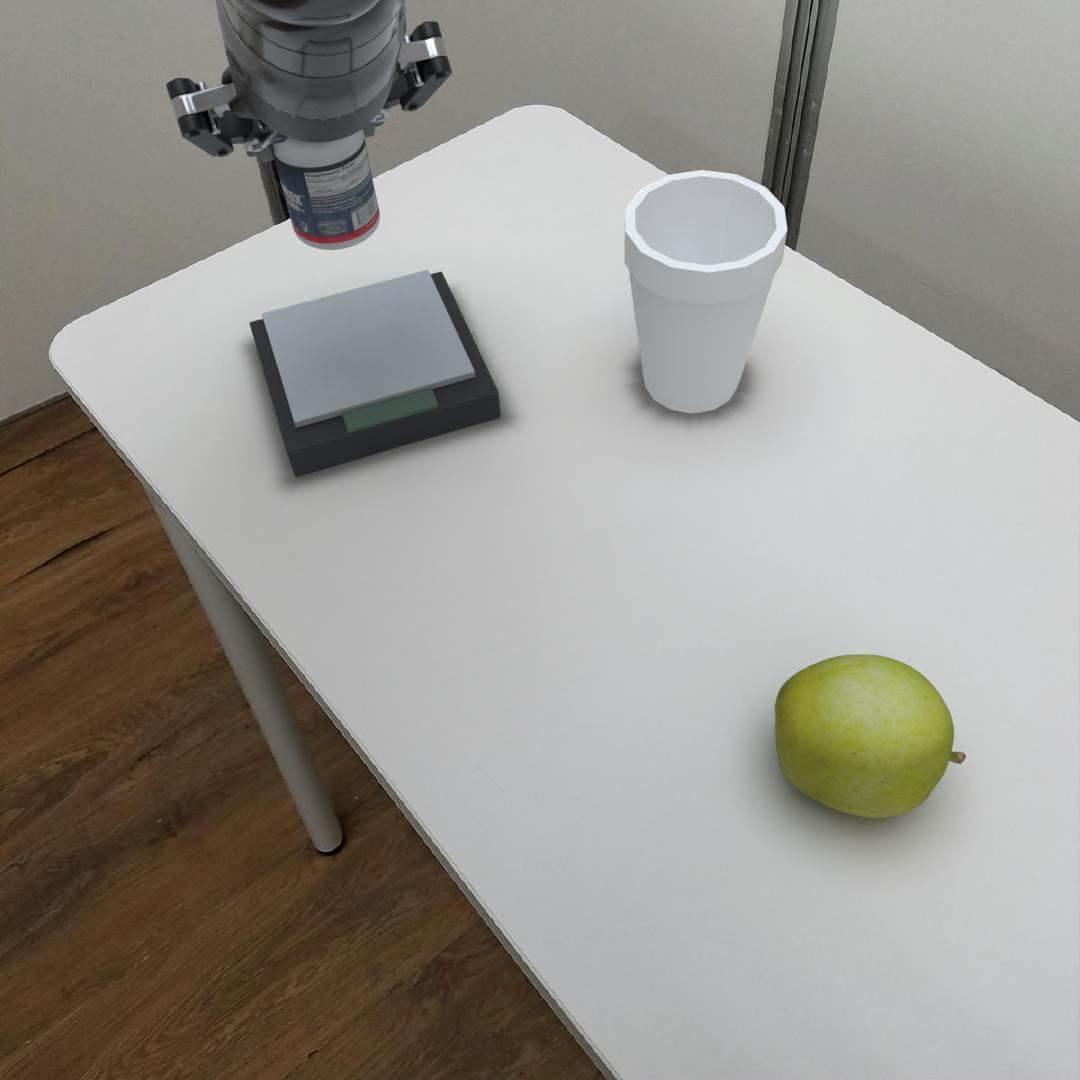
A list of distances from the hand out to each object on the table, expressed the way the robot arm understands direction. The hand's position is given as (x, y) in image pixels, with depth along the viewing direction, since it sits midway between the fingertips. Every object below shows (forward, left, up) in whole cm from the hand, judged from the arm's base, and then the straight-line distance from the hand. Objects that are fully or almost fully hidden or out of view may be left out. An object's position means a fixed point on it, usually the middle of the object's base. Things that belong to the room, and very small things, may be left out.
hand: (312, 131), depth 63 cm
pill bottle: (0, -2, -5) cm, 6 cm away
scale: (0, -3, -18) cm, 18 cm away
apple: (+16, -40, -18) cm, 46 cm away
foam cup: (+20, -11, -18) cm, 29 cm away
